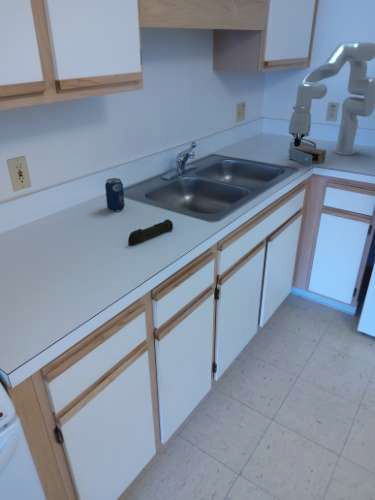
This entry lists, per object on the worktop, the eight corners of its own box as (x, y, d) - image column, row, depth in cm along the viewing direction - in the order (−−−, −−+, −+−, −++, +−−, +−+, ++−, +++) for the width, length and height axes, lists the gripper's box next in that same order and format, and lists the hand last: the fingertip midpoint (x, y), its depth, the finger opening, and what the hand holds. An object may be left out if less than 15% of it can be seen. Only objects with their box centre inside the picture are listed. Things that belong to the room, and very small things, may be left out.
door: (289, 157, 223) (291, 148, 220) (311, 165, 210) (312, 155, 207) (286, 157, 222) (288, 148, 220) (307, 165, 209) (309, 156, 206)
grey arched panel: (318, 153, 233) (318, 138, 226) (314, 158, 231) (314, 143, 224) (292, 149, 242) (292, 134, 236) (288, 153, 240) (288, 138, 233)
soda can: (125, 211, 155) (123, 182, 149) (107, 212, 154) (104, 183, 148) (124, 205, 161) (122, 177, 155) (107, 206, 160) (104, 178, 154)
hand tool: (166, 227, 143) (166, 216, 141) (173, 231, 141) (173, 219, 138) (124, 244, 132) (122, 231, 130) (131, 248, 129) (130, 235, 127)
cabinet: (296, 155, 229) (297, 145, 226) (324, 160, 220) (326, 150, 217) (290, 158, 223) (291, 148, 220) (319, 164, 214) (321, 152, 211)
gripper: (285, 109, 199) (280, 145, 207) (313, 112, 191) (307, 149, 200) (291, 107, 204) (286, 142, 213) (319, 110, 196) (313, 147, 205)
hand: (296, 146), depth 206 cm, fingers closed
